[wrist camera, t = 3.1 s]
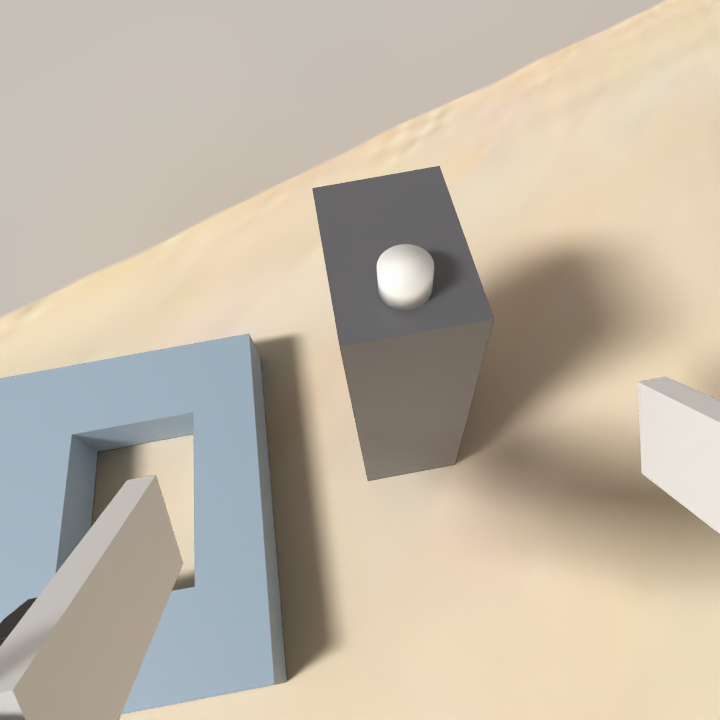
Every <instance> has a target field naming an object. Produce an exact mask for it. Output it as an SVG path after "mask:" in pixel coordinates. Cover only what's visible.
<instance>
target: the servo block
mask: <svg viewBox="0 0 720 720" xmlns="http://www.w3.org/2000/svg"><path fill="white" fill-rule="evenodd" d="M312 189H313V195H314V200H315V206H316V212H317V218H318V224H319V229H320V235H321V241H322V247H323V253H324V258H325V264H326V270H327V276H328V282H329V287H330V293H331V299H332V305H333V311H334V316H335V322H336V328H337V334H338V340H339V345H340V350H341V355H342V360H343V365H344V370H345V374H346V379H347V384H348V389H349V393H350V398H351V403H352V408H353V413H354V417H355V422H356V427H357V432H358V436H359V441H360V446H361V451H362V456H363V460H364V465H365V470H366V475H367V479H368V481H371V480H376V479H381V478H387V477H392V476H398V475H403V474H408V473H414V472H419V471H424V470H430V469H435V468H441V467H446V466H451V465H455V463H456V459H457V455H458V452H459V448H460V444H461V440H462V437H463V433H464V429H465V425H466V422H467V418H468V414H469V410H470V407H471V403H472V399H473V395H474V392H475V388H476V384H477V380H478V377H479V373H480V369H481V366H482V362H483V358H484V354H485V351H486V347H487V343H488V339H489V336H490V332H491V328H492V324H493V321H494V318H493V315H492V312H491V309H490V306H489V304H488V301H487V298H486V295H485V292H484V289H483V287H482V284H481V281H480V278H479V275H478V273H477V270H476V267H475V264H474V261H473V259H472V256H471V253H470V250H469V247H468V245H467V242H466V239H465V236H464V233H463V231H462V228H461V225H460V222H459V219H458V217H457V214H456V211H455V208H454V205H453V203H452V200H451V197H450V194H449V191H448V189H447V186H446V183H445V180H444V177H443V174H442V172H441V169H440V166H437V167H431V168H425V169H420V170H414V171H408V172H403V173H397V174H391V175H385V176H380V177H374V178H368V179H363V180H357V181H351V182H346V183H340V184H334V185H329V186H323V187H317V188H312Z"/></svg>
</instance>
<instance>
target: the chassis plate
mask: <svg viewBox="0 0 720 720" xmlns="http://www.w3.org/2000/svg"><path fill="white" fill-rule="evenodd" d="M192 434H194V549H195V587H190V588H184V589H179V590H174V591H172V592H171V594H170V597H169V599H168V601H167V604H166V606H165V609H164V611H163V614H162V616H161V619H160V621H159V623H158V626H157V628H156V631H155V633H154V636H153V638H152V641H151V643H150V645H149V648H148V650H147V653H146V655H145V658H144V660H143V662H142V665H141V667H140V670H139V672H138V675H137V677H136V680H135V682H134V684H133V687H132V689H131V692H130V694H129V697H128V699H127V701H126V704H125V706H124V709H123V711H122V714H125V713H130V712H135V711H141V710H146V709H151V708H156V707H161V706H166V705H172V704H177V703H182V702H187V701H192V700H198V699H203V698H208V697H213V696H218V695H224V694H229V693H234V692H239V691H244V690H250V689H255V688H260V687H265V686H270V685H275V684H280V683H284V682H287V675H286V663H285V650H284V638H283V626H282V614H281V602H280V590H279V578H278V565H277V553H276V541H275V529H274V517H273V505H272V493H271V480H270V468H269V456H268V444H267V432H266V420H265V408H264V395H263V383H262V371H261V359H260V355H259V353H258V351H257V349H256V347H255V345H254V343H253V341H252V339H251V337H250V335H249V334H244V335H239V336H233V337H228V338H222V339H217V340H211V341H206V342H200V343H194V344H189V345H183V346H178V347H172V348H167V349H161V350H156V351H150V352H145V353H139V354H133V355H128V356H122V357H117V358H111V359H106V360H100V361H95V362H89V363H83V364H78V365H72V366H67V367H61V368H56V369H50V370H45V371H39V372H33V373H28V374H22V375H17V376H11V377H6V378H0V623H1V622H2V621H3V619H5V618H6V617H7V616H8V615H9V614H11V613H12V612H13V611H14V610H16V609H17V608H18V607H19V606H20V605H22V604H23V603H24V602H25V601H27V600H28V599H32V598H37V597H38V596H39V595H40V594H41V592H42V591H43V590H44V588H45V587H46V586H47V585H48V583H49V582H50V581H51V579H52V578H53V577H54V575H55V574H56V573H57V571H58V570H59V569H60V568H61V566H62V565H63V564H64V562H65V561H66V560H67V558H68V557H69V556H70V554H71V553H72V552H73V550H74V549H75V548H76V547H77V545H78V544H79V543H80V541H81V540H82V539H83V537H84V536H85V535H86V533H87V532H88V531H89V529H90V528H91V523H92V511H93V500H94V489H95V478H96V466H97V455H98V452H99V451H104V450H110V449H115V448H121V447H126V446H132V445H137V444H143V443H148V442H154V441H159V440H164V439H170V438H175V437H181V436H186V435H192Z"/></svg>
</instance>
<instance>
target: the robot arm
mask: <svg viewBox="0 0 720 720" xmlns="http://www.w3.org/2000/svg"><path fill="white" fill-rule="evenodd" d="M638 392H639V418H640V444H641V470H642V474H643V475H644V476H646V477H647V478H648V479H650V480H651V481H652V482H653V483H655V484H656V485H657V486H659V487H660V488H661V489H662V490H664V491H665V492H666V493H668V494H669V495H670V496H671V497H673V498H674V499H675V500H677V501H678V502H679V503H680V504H682V505H683V506H684V507H686V508H687V509H688V510H689V511H691V512H692V513H693V514H695V515H696V516H697V517H698V518H700V519H701V520H702V521H704V522H705V523H706V524H707V525H709V526H710V527H711V528H713V529H714V530H715V531H716V532H718V533H719V534H720V401H719V400H717V399H715V398H713V397H710V396H708V395H706V394H704V393H701V392H699V391H697V390H695V389H692V388H690V387H688V386H686V385H683V384H681V383H679V382H677V381H674V380H672V379H670V378H668V377H661V378H656V379H651V380H646V381H640V382H638ZM182 565H183V561H182V558H181V555H180V552H179V548H178V545H177V542H176V538H175V535H174V532H173V529H172V525H171V522H170V519H169V516H168V512H167V509H166V506H165V503H164V499H163V496H162V493H161V489H160V486H159V483H158V480H157V476H156V475H151V476H146V477H141V478H136V479H130V480H127V481H126V482H125V484H124V485H123V486H122V488H121V489H120V490H119V491H118V493H117V494H116V495H115V497H114V498H113V499H112V501H111V502H110V503H109V505H108V506H107V507H106V508H105V510H104V511H103V512H102V514H101V515H100V516H99V518H98V519H97V520H96V522H95V523H94V524H93V526H92V527H91V528H90V529H89V531H88V532H87V533H86V535H85V536H84V537H83V539H82V540H81V541H80V543H79V544H78V545H77V547H76V548H75V549H74V550H73V552H72V553H71V554H70V556H69V557H68V558H67V560H66V561H65V562H64V564H63V565H62V566H61V568H60V569H59V570H58V571H57V573H56V574H55V575H54V577H53V578H52V579H51V581H50V582H49V583H48V585H47V586H46V587H45V588H44V590H43V591H42V592H41V594H40V595H39V596H38V597H37V598H32V599H28V600H27V601H25V602H24V603H23V604H22V605H20V606H19V607H18V608H17V609H16V610H14V611H13V612H12V613H11V614H9V615H8V616H7V617H6V618H5V619H3V621H2V622H1V623H0V720H119V719H120V716H121V714H122V711H123V709H124V706H125V704H126V701H127V699H128V697H129V694H130V692H131V689H132V687H133V684H134V682H135V680H136V677H137V675H138V672H139V670H140V667H141V665H142V662H143V660H144V658H145V655H146V653H147V650H148V648H149V645H150V643H151V641H152V638H153V636H154V633H155V631H156V628H157V626H158V623H159V621H160V619H161V616H162V614H163V611H164V609H165V606H166V604H167V601H168V599H169V597H170V594H171V592H172V589H173V587H174V584H175V582H176V580H177V577H178V575H179V572H180V570H181V567H182Z"/></svg>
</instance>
